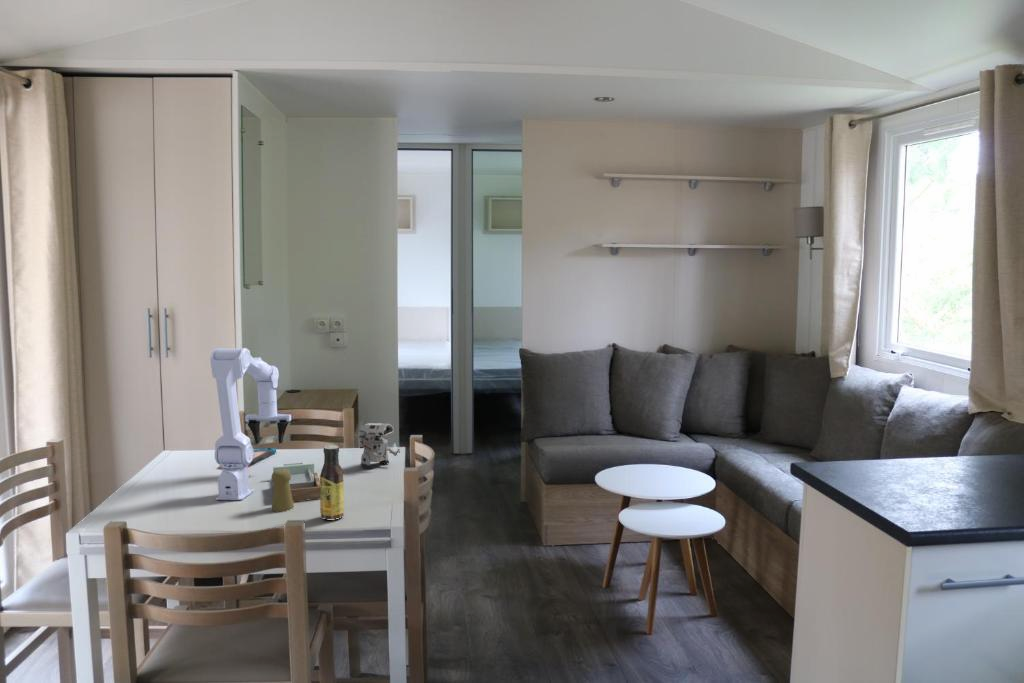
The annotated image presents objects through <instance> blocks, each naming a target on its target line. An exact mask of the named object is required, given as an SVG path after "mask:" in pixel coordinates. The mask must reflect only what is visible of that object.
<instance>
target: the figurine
mask: <svg viewBox="0 0 1024 683" xmlns="http://www.w3.org/2000/svg"><path fill="white" fill-rule="evenodd" d="M360 431H361V432H364V433H366V434H367V436H369V437H364V436H363V437H361V438H360V443H359V449H363V453H362V454H361V458H360V461H361V462H360V467H361V468H362V467H364V468H363V469H366V468H367V469H366V470H371V469H372V465H371V463H379V462H381V463H385V464H387V463H388V464H390V460H389V454H392V455H393V456H395V457H396V456H398V453H399V454H400V453H401V451H400V448H398V449H397V450H396V451H395V450H393V449H392V448H391V447H390V446H388V441H389V440H388V439H386V438H383V437H385V436H388V435H390V434H392V433H394V427H393V425H392V424H391V423H380V422H379V423H378V422H377V423H376V422H375V423H373V422H367V423H365V424H363V425H362V427H360ZM364 438H365V439H364ZM388 451H389V454H388ZM381 463H380V464H381ZM385 464H384V465H385ZM388 464H387V465H388Z"/></svg>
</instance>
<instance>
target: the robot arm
mask: <svg viewBox="0 0 1024 683" xmlns="http://www.w3.org/2000/svg"><path fill="white" fill-rule="evenodd" d="M209 360H210V368H211V375H212V378H213V379H215V381H216V388H217V396H218V404H219V411H220V420H221V428H222V436H220V437H219V438H218V439H217V440H216V441H215V443H214V446H215V447H214V460H215V462H216V464H218V465H220V467H222V469H221V473H220V474H219V476H218V478H217V487H218V488H217V489H218V496H217V497H216V498H215V501H220V500H221V501H243V500H244V499H246V497H248V496H249V495H251V494H253V492H254V490H255V489H253V488H249V487H250V486H249V470H248V469H249V467H248V465H249V464H250V463H251V461H252V459H253V455H254V452H253V450H254V448H253V445H252V442H251V438H250V437H249V436H247V435H246V434H244V433H243V432H242V426H241V418H240V410H239V402H238V392H237V387H236V382H237V380H239V379H241V378H243V377H244V375H245V373H246V372H247V374H249V375H250V376H251V377H252V378H253V380H254V382H255V383H257V398H258V399H257V401H258V413H257V414H253V413H252V414H246V415H245V416H244V420H245V422H247V426H248V428H249V429H250V431H251V433H252V436H253V438H254V442H255V444H260V442H261V435H260V428H261V427H260V426H261V422H276V426H277V431H278V432H277V433H278V444H283V442H284V436H285V433H286V430H287V427H288V425H289V423H290V421H292V414H288V413H287V414H285V413H278V404H277V402H278V399H277V397H278V396H277V388H278V386H279V385H278V381H279V378H280V376H279V374H280V373H279V369H278V367H277V366H275V365H270V364H268V363H267V362H266V361H264V360H263V359H262V357H260V356H255V357H253V356H252V355H251V351H250V349H248V348H247V347H241V348H239V347H238V348H235V347H234V348H232V347H231V348H229V347H228V348H227V347H226V348H225V347H224V348H222V347H221V348H220V347H216V348H214V350H213V351H212V353H211V356H210V359H209Z"/></svg>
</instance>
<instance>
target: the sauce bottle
mask: <svg viewBox="0 0 1024 683" xmlns="http://www.w3.org/2000/svg"><path fill="white" fill-rule="evenodd" d="M339 452H340V447H339V445H336V444H329V445H325V446H323V455H324V458H323V459H324V461H323V466H322V469H321V472H320V476H319V480H320V499H319V503H320V505H319V506H320V507H319V508H320V517H322V518H325V519H336V518H340V517H342V516H343V517H344V511H345V503H344V500H345V498H344V495H345V494H344V493H345V491H344V489H345V488H344V470H343V469H342V466H341V465H340V462H339V461H340V460H339ZM343 517H342V518H343ZM322 518H321V519H322Z"/></svg>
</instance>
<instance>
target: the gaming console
mask: <svg viewBox="0 0 1024 683" xmlns="http://www.w3.org/2000/svg"><path fill="white" fill-rule="evenodd" d="M253 452H254V455H253V459H252V461H251V463H250V464H249V465H248V468H249V467H250V466H252V465H255V464H256V463H258V462H260V461H263V460H264V459H266V458H269V457H271V455H275V453H276V454H277V449H276V448H272V447H268V448H255V449H254V448H253ZM218 465H219V464H218ZM218 467H219V468H222V467H220V465H219V466H218Z"/></svg>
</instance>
